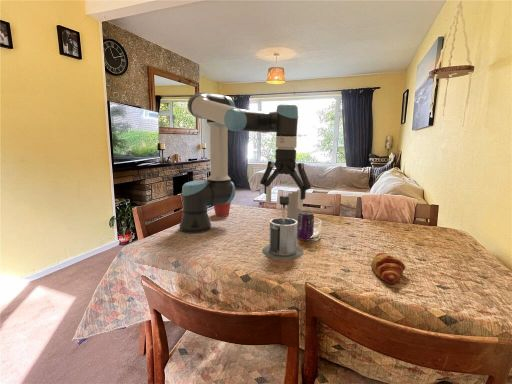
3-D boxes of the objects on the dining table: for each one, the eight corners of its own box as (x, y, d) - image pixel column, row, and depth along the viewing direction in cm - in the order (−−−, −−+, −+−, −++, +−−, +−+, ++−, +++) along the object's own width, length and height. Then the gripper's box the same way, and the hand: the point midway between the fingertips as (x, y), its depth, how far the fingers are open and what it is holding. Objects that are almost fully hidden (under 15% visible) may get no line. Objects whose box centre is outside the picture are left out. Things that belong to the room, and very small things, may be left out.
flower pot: (210, 216, 161) (210, 200, 159) (216, 212, 171) (216, 196, 170) (228, 217, 159) (228, 201, 157) (233, 213, 170) (233, 197, 168)
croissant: (373, 268, 106) (364, 248, 106) (400, 259, 102) (391, 239, 102) (381, 295, 86) (369, 272, 86) (415, 285, 82) (403, 261, 82)
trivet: (254, 254, 107) (254, 252, 107) (275, 242, 120) (275, 241, 120) (291, 265, 99) (291, 263, 98) (309, 251, 112) (310, 249, 111)
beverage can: (312, 241, 123) (314, 215, 120) (296, 240, 124) (297, 214, 122) (312, 236, 129) (314, 211, 127) (297, 235, 131) (298, 210, 129)
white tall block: (280, 220, 156) (281, 184, 152) (302, 224, 148) (304, 187, 144) (273, 223, 150) (274, 186, 147) (296, 227, 142) (298, 189, 139)
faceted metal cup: (260, 253, 106) (261, 223, 104) (277, 244, 117) (278, 216, 115) (286, 260, 100) (287, 228, 98) (301, 250, 111) (302, 220, 109)
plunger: (268, 245, 108) (269, 196, 104) (278, 239, 114) (280, 193, 111) (287, 249, 103) (288, 199, 100) (296, 243, 110) (298, 196, 107)
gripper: (252, 147, 106) (251, 202, 110) (314, 150, 93) (310, 212, 96) (262, 147, 112) (261, 199, 116) (322, 149, 99) (318, 208, 103)
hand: (283, 205), depth 106 cm, fingers open, 13 cm apart
